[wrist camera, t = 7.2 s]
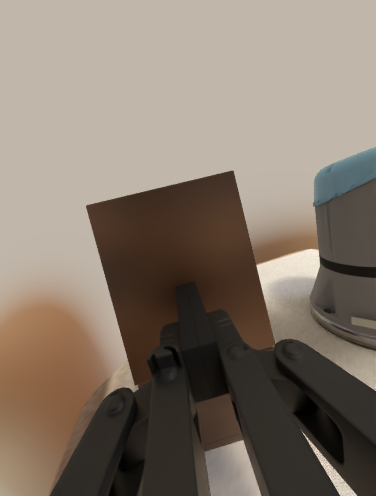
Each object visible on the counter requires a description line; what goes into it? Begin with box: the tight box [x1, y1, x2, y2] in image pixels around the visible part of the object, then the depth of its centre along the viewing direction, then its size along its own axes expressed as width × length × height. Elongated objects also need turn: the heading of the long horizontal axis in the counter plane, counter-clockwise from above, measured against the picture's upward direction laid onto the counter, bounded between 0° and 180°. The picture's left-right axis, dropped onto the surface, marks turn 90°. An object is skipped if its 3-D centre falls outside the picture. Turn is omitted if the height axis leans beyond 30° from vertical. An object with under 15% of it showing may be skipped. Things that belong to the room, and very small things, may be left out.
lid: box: [86, 171, 275, 385], centre depth 15 cm, size 14×12×1 cm
